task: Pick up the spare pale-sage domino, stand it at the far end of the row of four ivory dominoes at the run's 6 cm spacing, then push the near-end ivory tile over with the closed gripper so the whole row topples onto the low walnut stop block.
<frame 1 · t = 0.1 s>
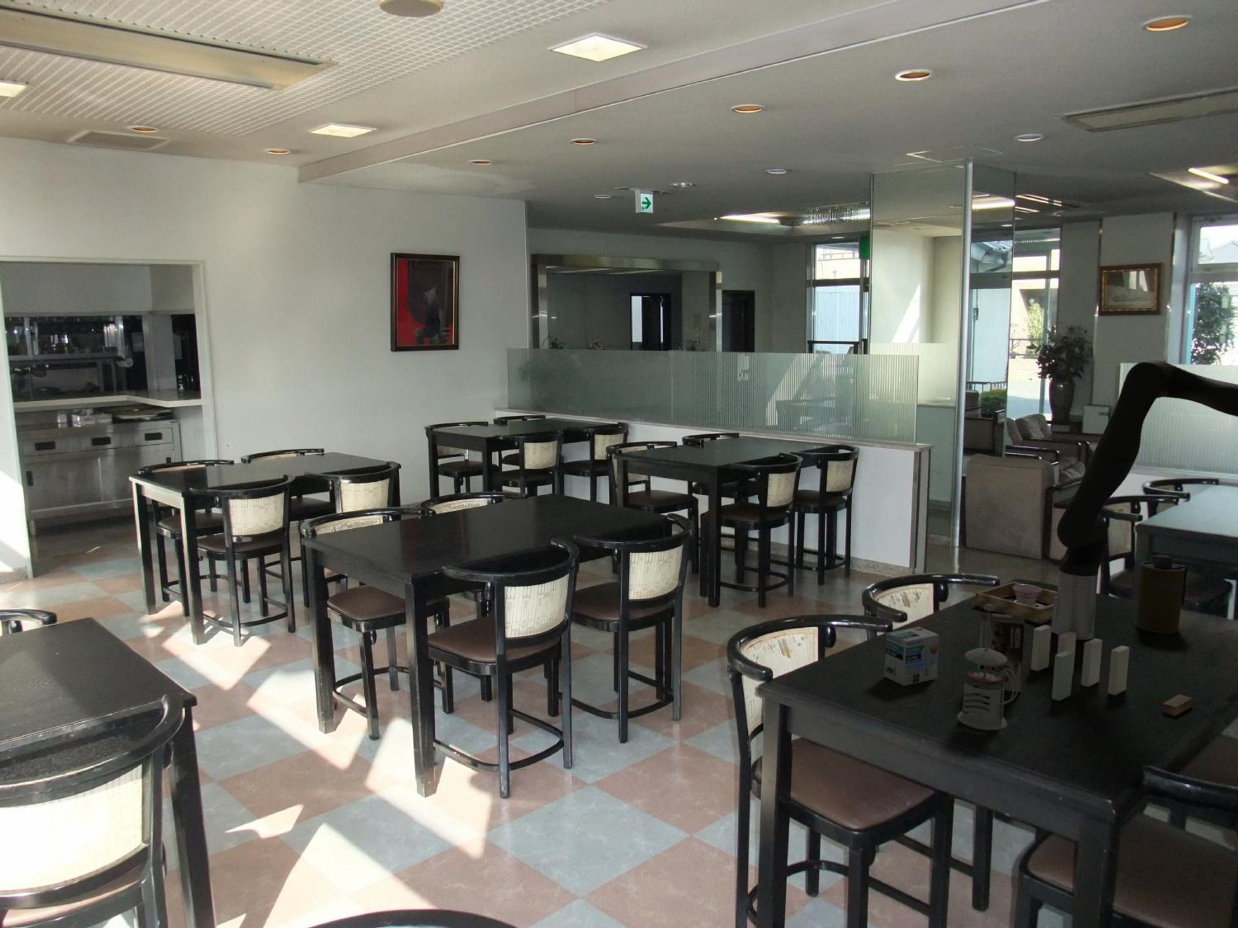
french press: (985, 722, 193), on the table
domino 1: (1039, 667, 223), on the table
teacup: (1026, 609, 269), resting in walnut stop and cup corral
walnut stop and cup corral: (1073, 634, 246), on the table
sage domino: (1061, 696, 205), on the table
domino 3: (1090, 683, 213), on the table
canister: (1157, 628, 252), on the table
domino 2: (1064, 675, 218), on the table
domino 4: (1116, 691, 208), on the table
light bulb box: (910, 678, 216), on the table
coffee box: (998, 686, 212), on the table
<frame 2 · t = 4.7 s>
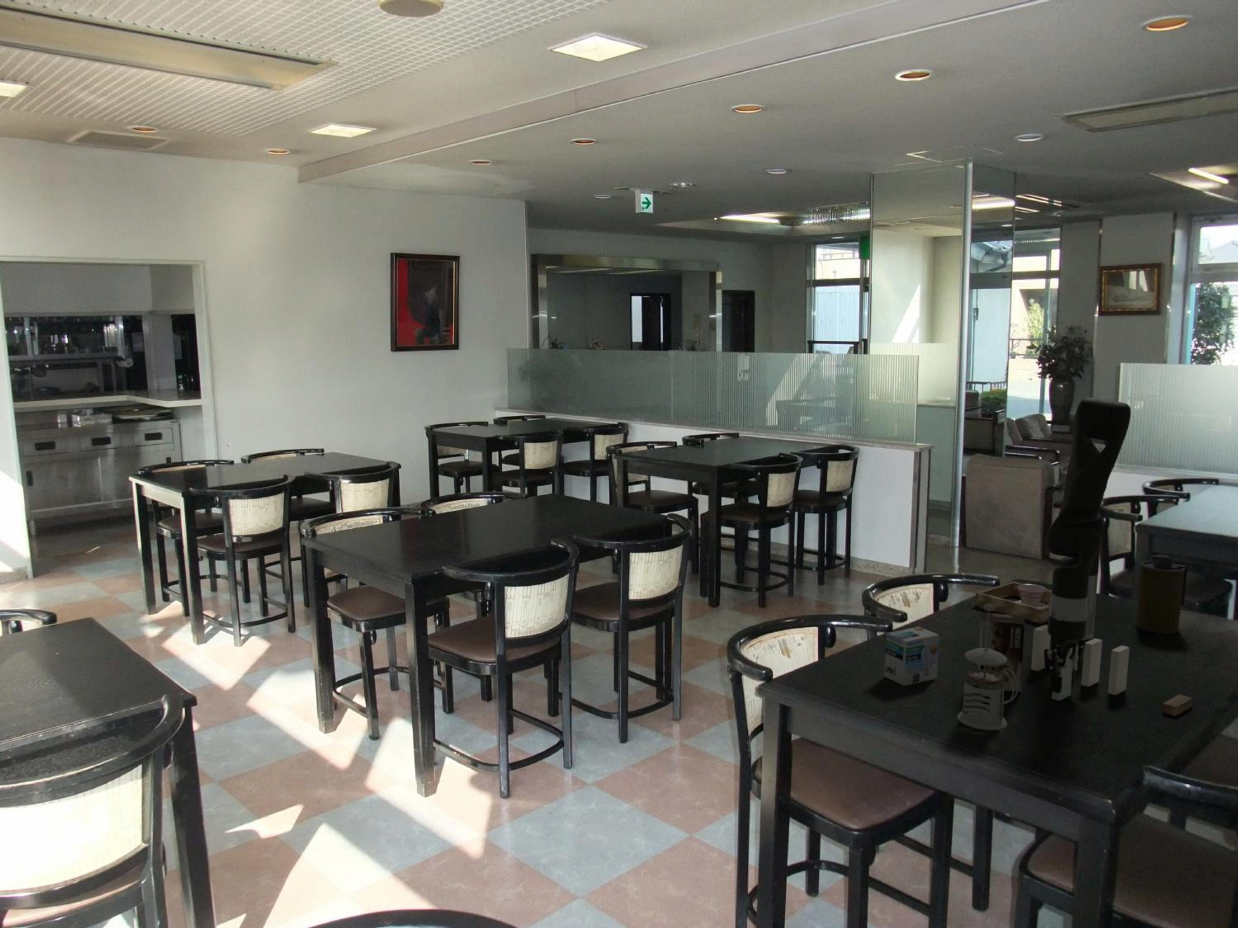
hand: (1061, 688, 205), 2 cm above the table, fingers closed on sage domino, 5 cm apart
teacup: (1031, 609, 269), resting in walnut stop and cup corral
sage domino: (1061, 696, 205), on the table, touching gripper
everything else where it was.
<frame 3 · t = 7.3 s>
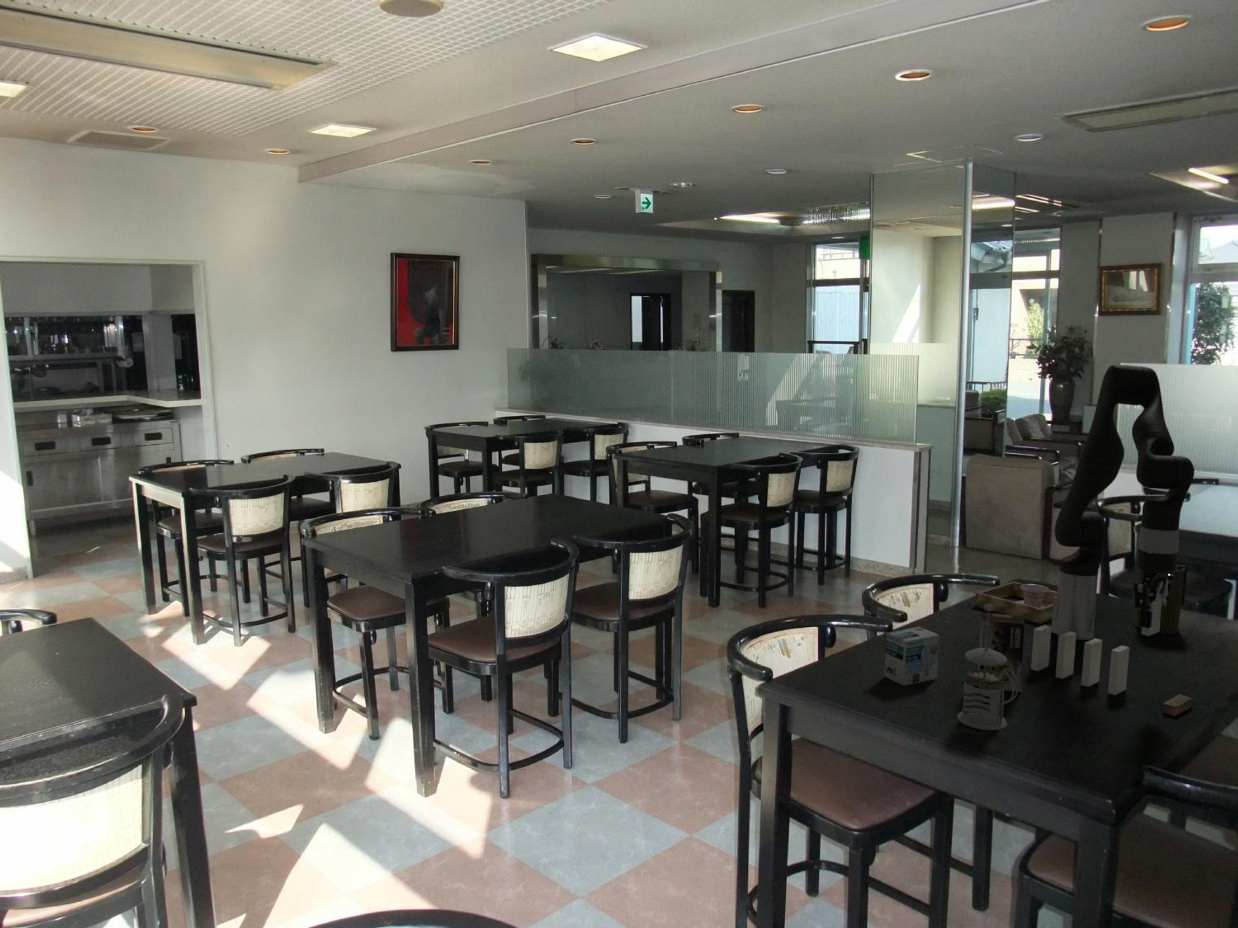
hand: (1150, 623, 201), 17 cm above the table, fingers closed on sage domino, 5 cm apart
sage domino: (1150, 632, 202), point 15 cm above the table, touching gripper
when the fingers open (3 cm above the table, at t = 10.0 s): sage domino stays where it is, on the table.
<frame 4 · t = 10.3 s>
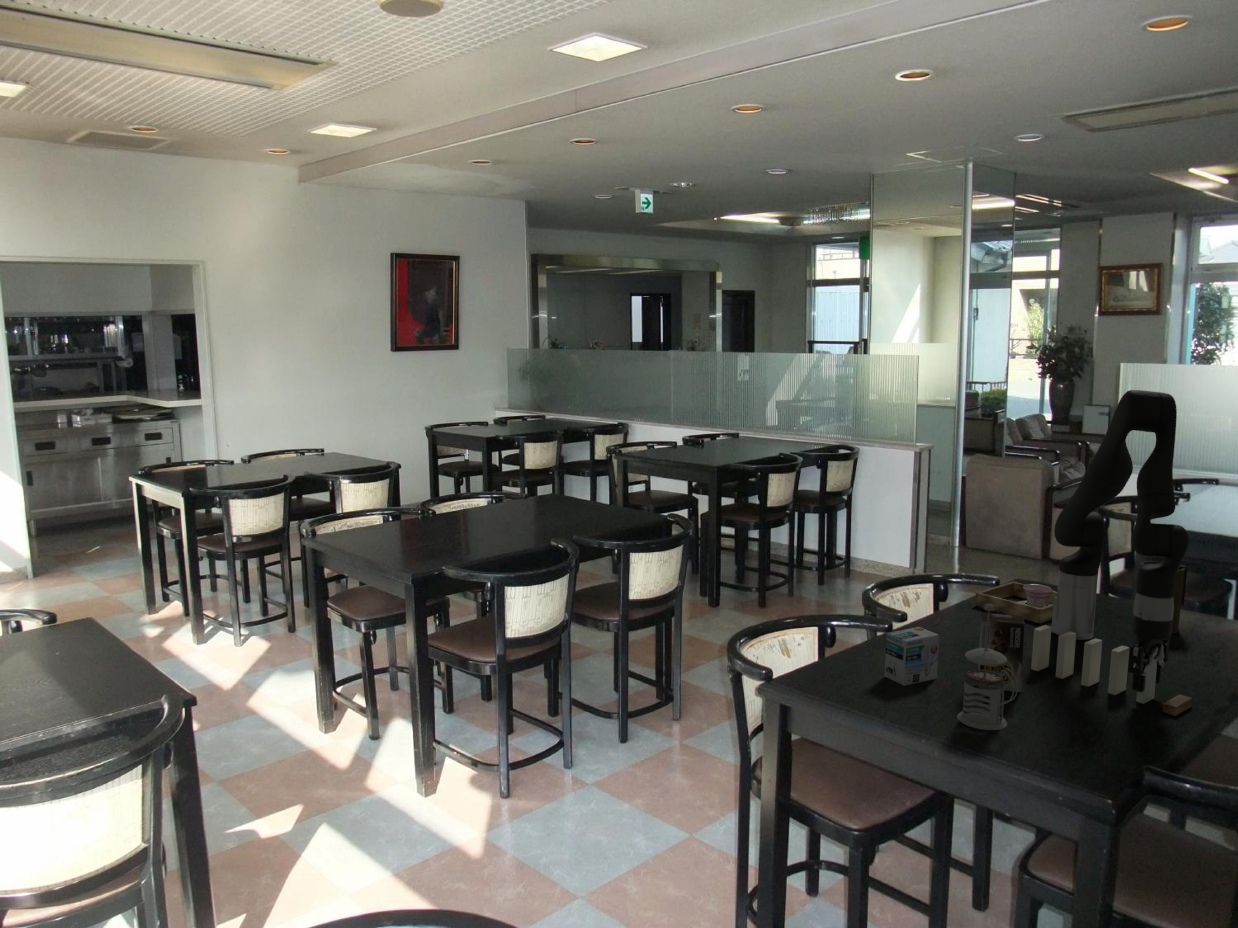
hand: (1146, 686, 203), 3 cm above the table, fingers open, 7 cm apart
sage domino: (1145, 699, 204), on the table
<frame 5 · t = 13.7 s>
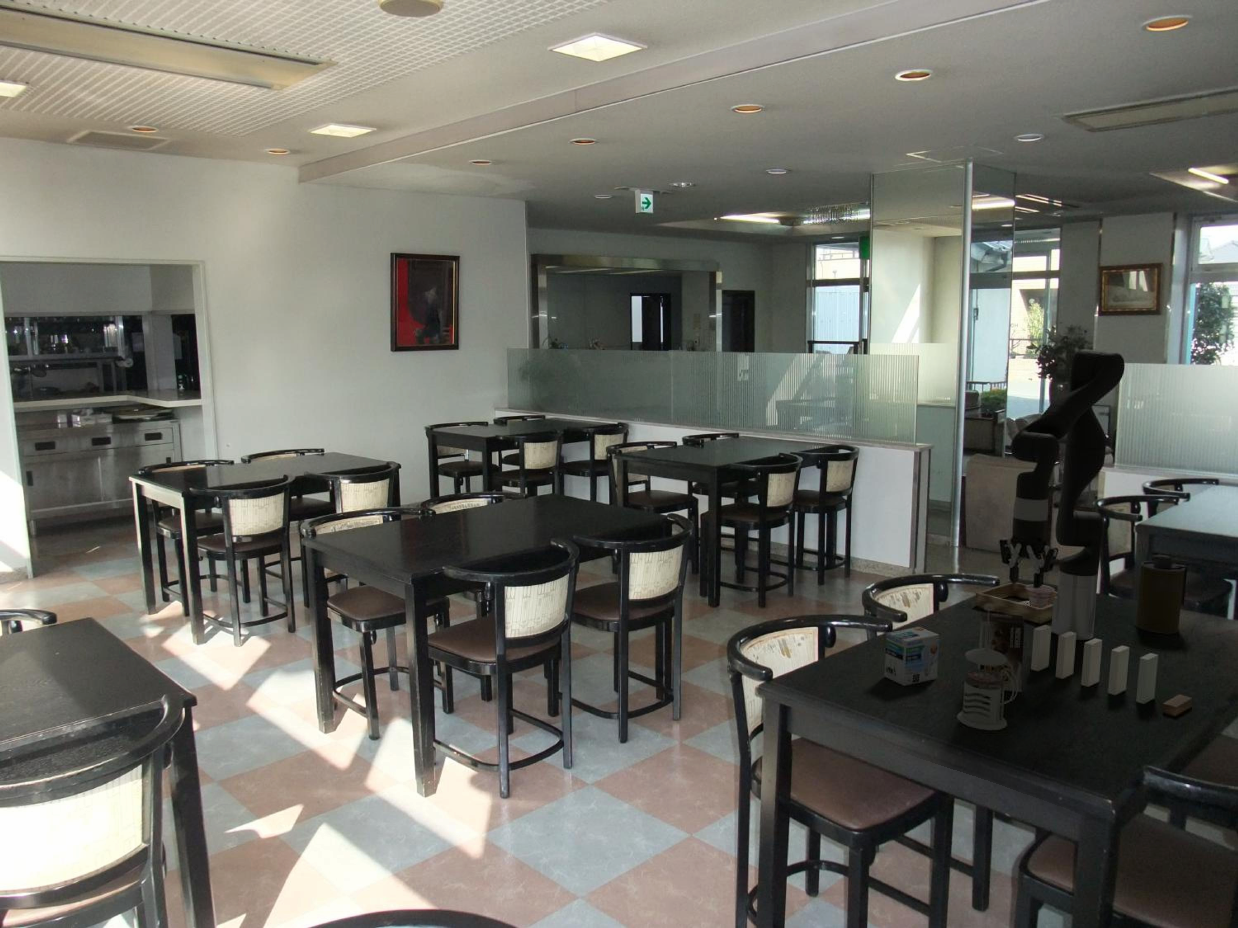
hand: (1025, 584, 224), 19 cm above the table, fingers open, 5 cm apart
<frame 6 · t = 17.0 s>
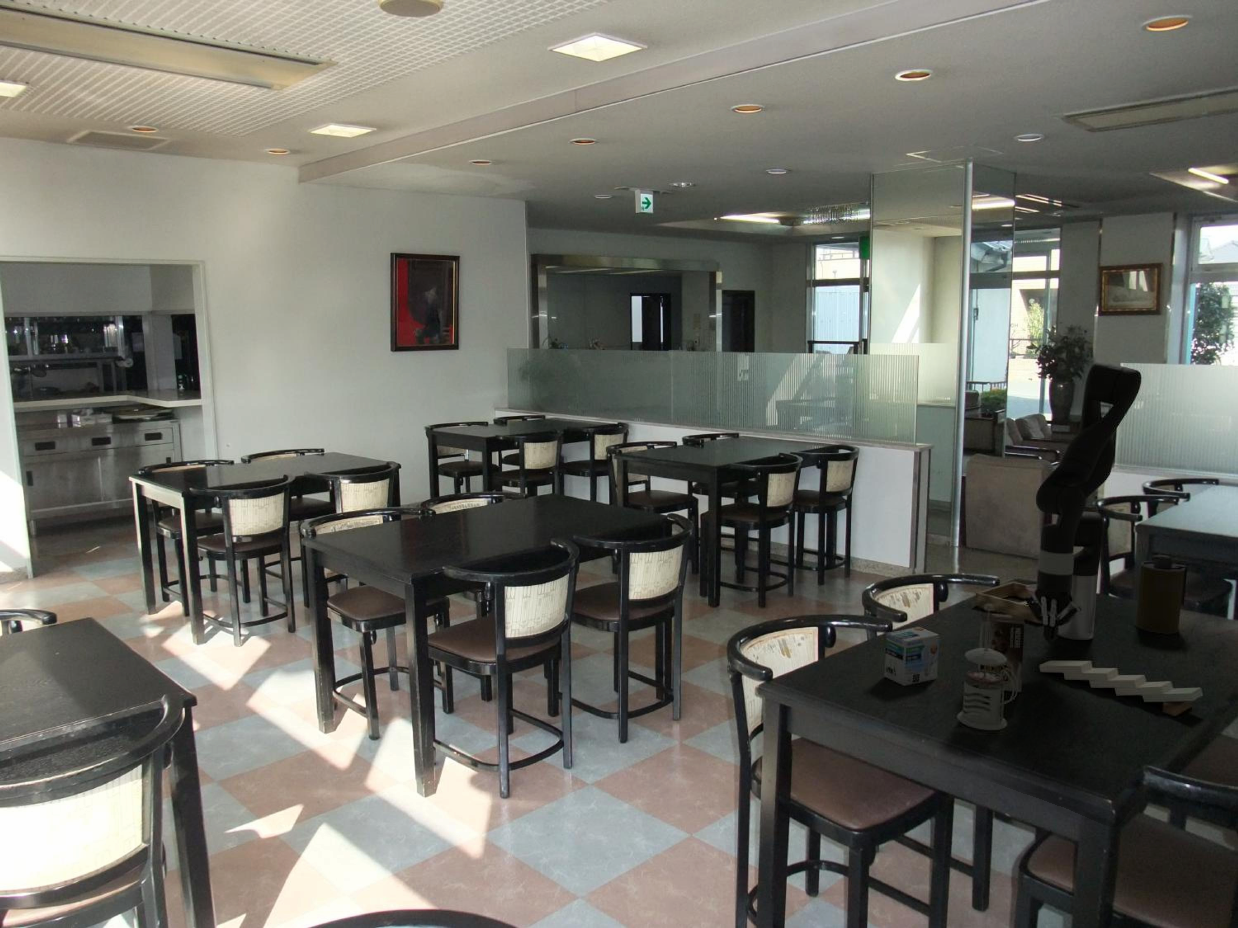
hand: (1050, 639, 220), 8 cm above the table, fingers closed
domino 1: (1045, 666, 221), point 1 cm above the table, tilted 74°, touching domino 2
sage domino: (1148, 695, 203), point 1 cm above the table, tilted 70°, touching domino 4, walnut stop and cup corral
domino 3: (1095, 681, 212), point 1 cm above the table, tilted 72°, touching domino 2, domino 4
domino 2: (1069, 673, 217), point 1 cm above the table, tilted 73°, touching domino 1, domino 3
domino 4: (1120, 689, 208), point 1 cm above the table, tilted 70°, touching domino 3, sage domino
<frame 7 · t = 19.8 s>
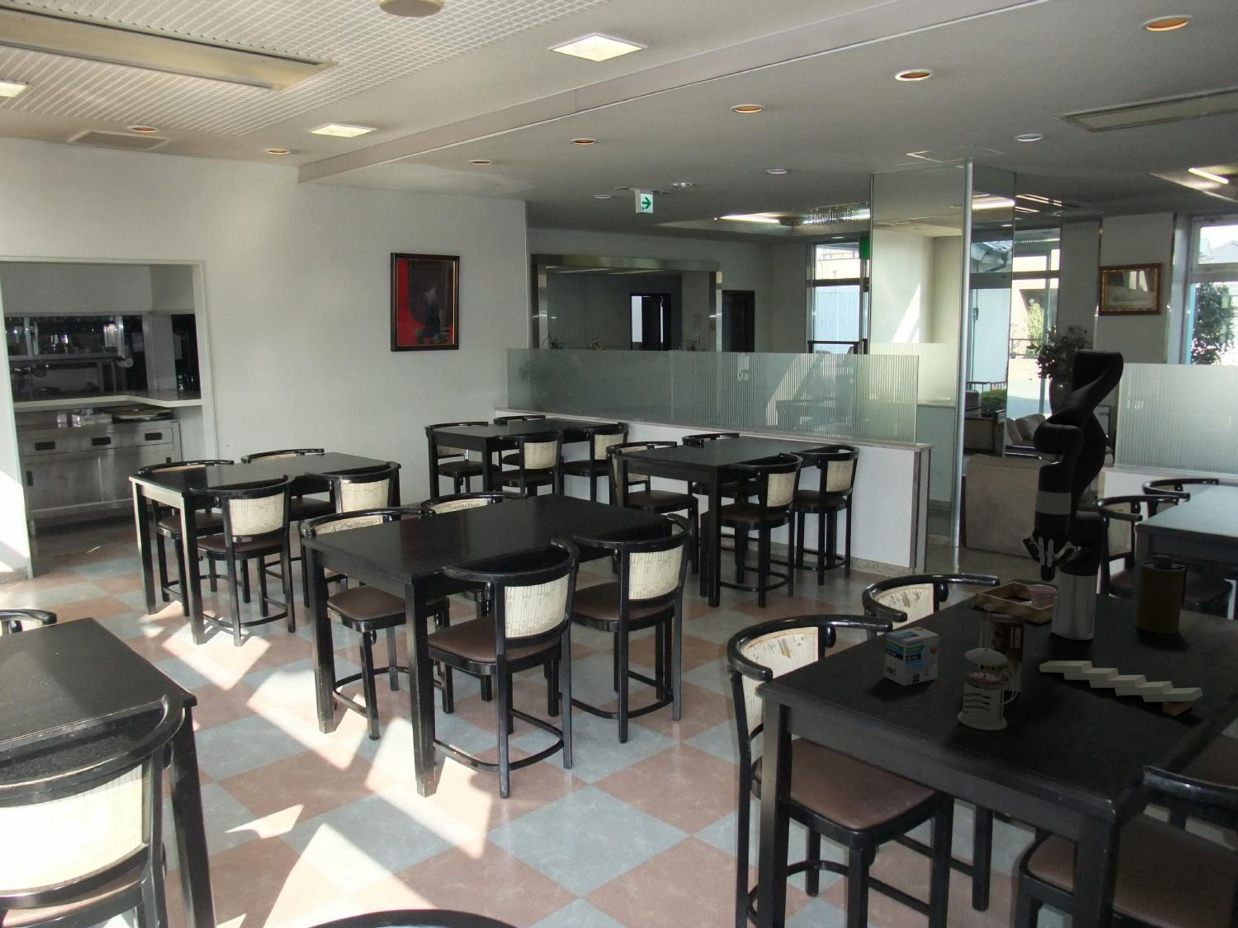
hand: (1047, 580, 220), 21 cm above the table, fingers closed
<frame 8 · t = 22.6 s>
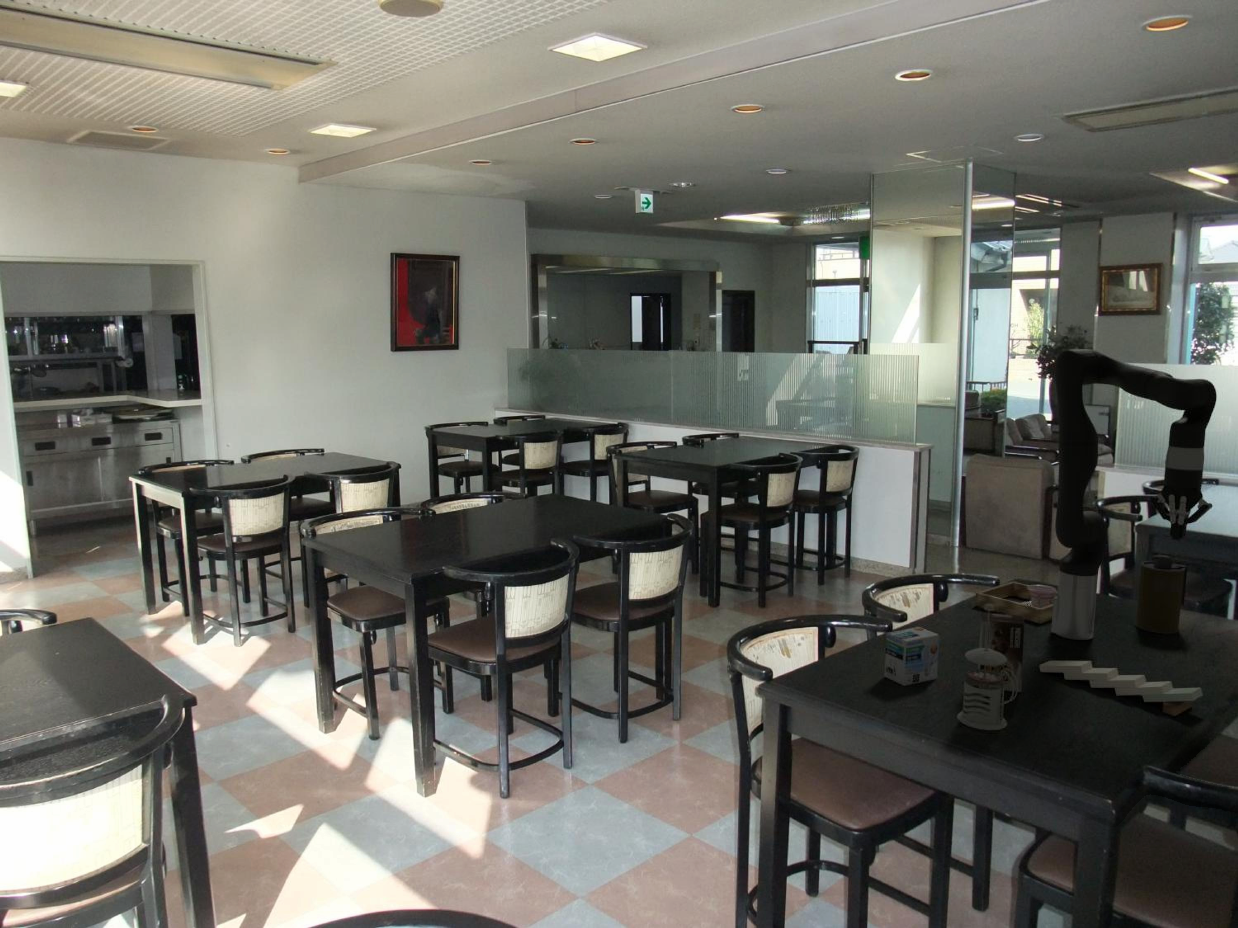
hand: (1177, 539, 216), 32 cm above the table, fingers closed
at the end: sage domino tilted 70°; domino 1 tilted 74°; the gripper is holding nothing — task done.
